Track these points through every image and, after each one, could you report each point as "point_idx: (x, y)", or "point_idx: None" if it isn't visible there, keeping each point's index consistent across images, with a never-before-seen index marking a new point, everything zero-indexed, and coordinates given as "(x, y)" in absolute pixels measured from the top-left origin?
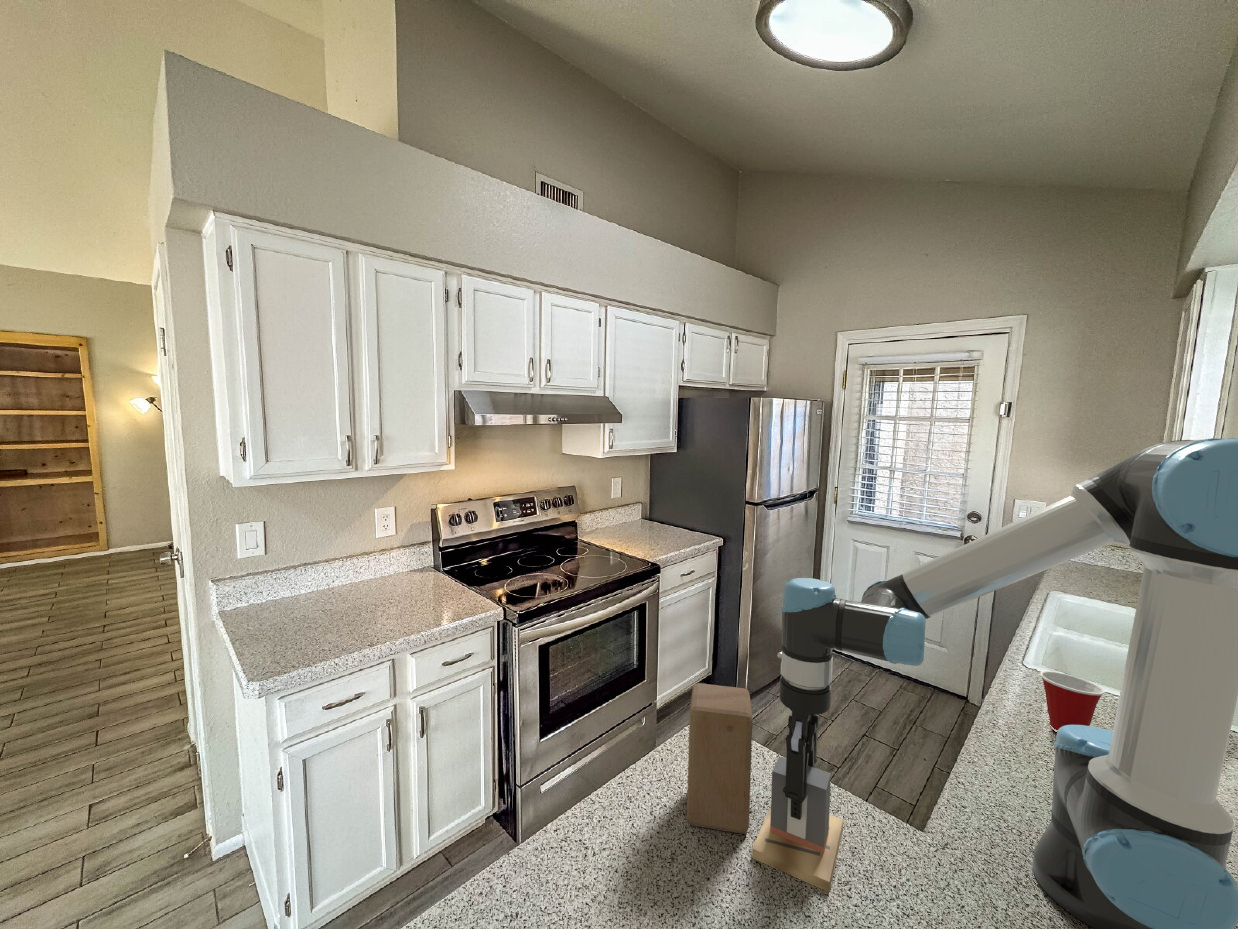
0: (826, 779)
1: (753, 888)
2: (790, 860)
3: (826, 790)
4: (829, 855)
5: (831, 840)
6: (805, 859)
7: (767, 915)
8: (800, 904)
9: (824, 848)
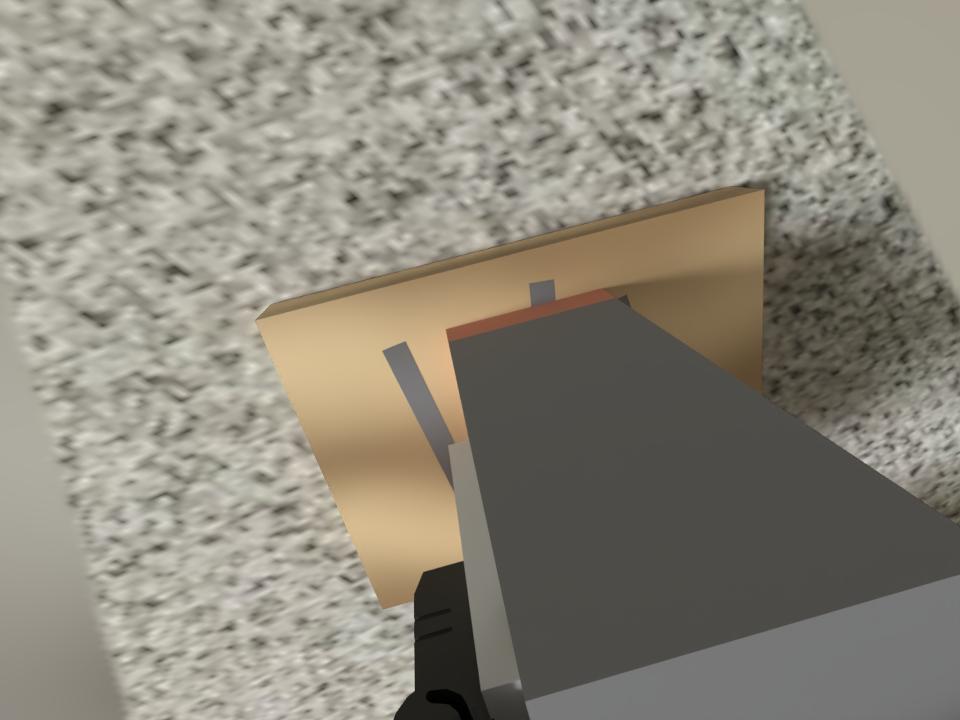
0: (743, 666)
1: (860, 407)
2: (739, 377)
3: (935, 546)
4: (591, 262)
5: (477, 299)
6: (691, 335)
7: (948, 318)
8: (849, 253)
9: (583, 298)
